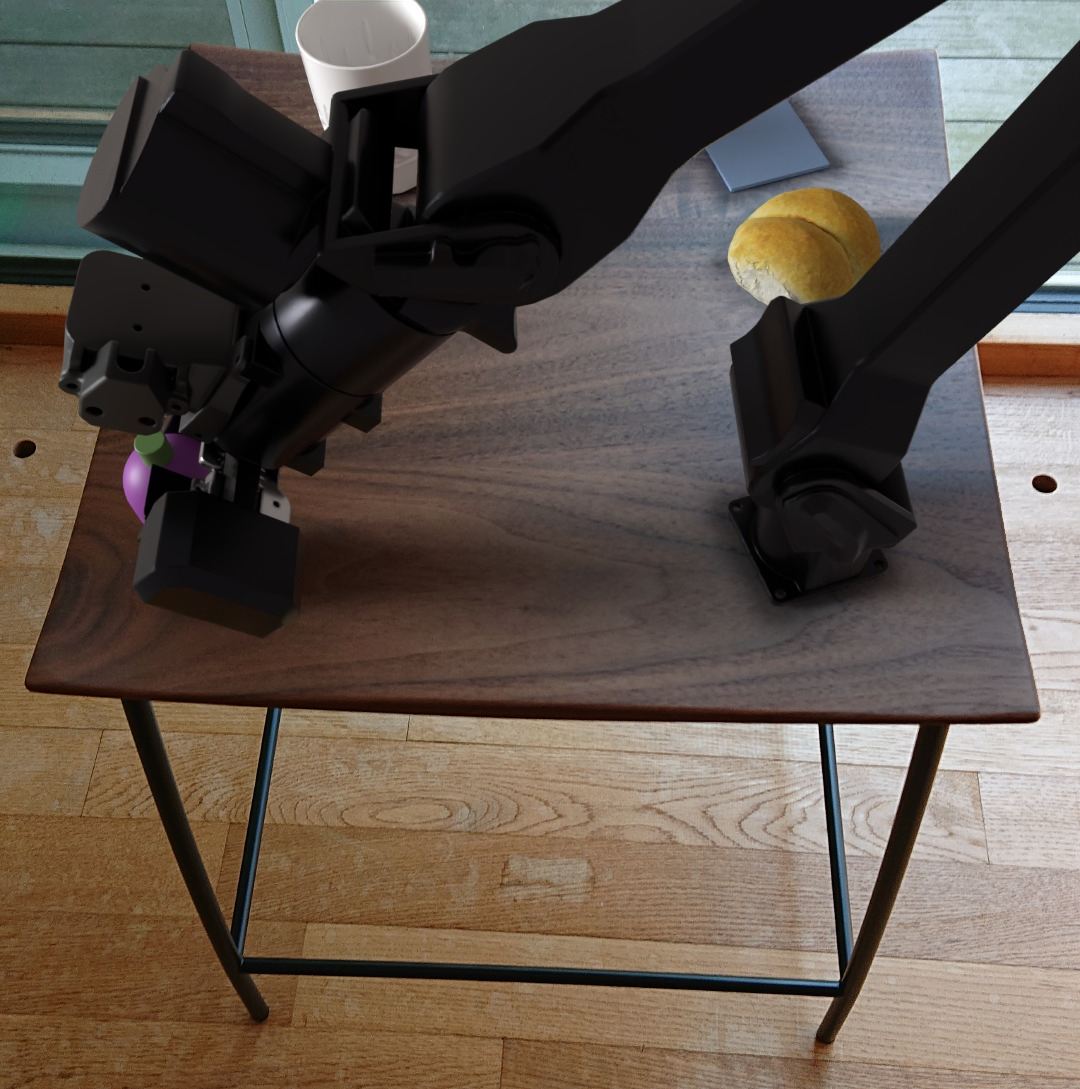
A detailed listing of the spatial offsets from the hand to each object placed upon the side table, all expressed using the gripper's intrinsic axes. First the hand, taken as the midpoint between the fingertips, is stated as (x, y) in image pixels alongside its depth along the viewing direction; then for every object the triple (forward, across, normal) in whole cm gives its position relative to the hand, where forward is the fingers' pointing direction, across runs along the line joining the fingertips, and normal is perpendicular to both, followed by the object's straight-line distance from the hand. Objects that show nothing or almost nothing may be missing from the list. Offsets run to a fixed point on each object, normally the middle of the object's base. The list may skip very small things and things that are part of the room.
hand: (154, 498), depth 52 cm
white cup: (-1, -31, +11) cm, 33 cm away
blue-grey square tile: (-19, -31, +29) cm, 46 cm away
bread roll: (-20, -20, +30) cm, 41 cm away
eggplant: (+4, 0, +6) cm, 7 cm away
